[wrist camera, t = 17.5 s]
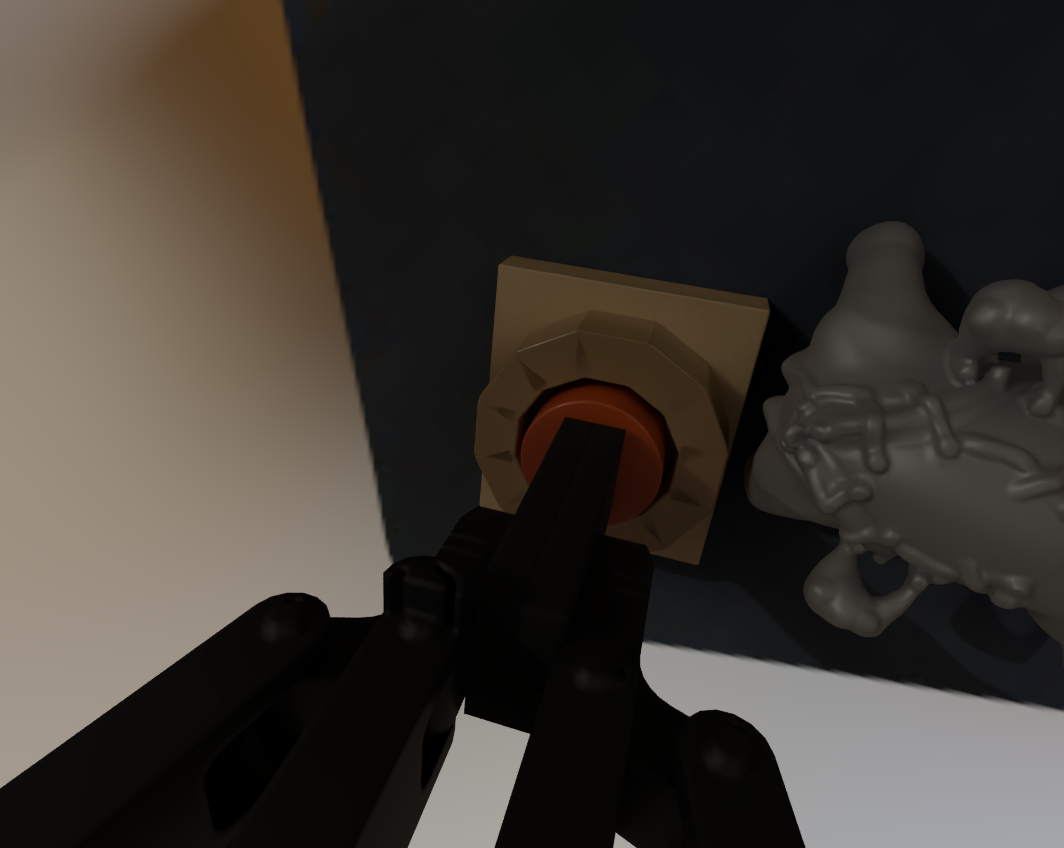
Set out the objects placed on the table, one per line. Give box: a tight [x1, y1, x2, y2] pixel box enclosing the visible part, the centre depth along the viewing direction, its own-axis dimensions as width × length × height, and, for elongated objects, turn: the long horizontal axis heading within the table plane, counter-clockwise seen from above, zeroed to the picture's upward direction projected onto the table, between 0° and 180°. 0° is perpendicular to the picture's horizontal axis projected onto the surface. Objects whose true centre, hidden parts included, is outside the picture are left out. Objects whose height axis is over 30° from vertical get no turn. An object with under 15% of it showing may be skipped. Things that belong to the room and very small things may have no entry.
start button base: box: [474, 256, 770, 565], centre depth 18 cm, size 8×7×3 cm
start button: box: [521, 377, 668, 526], centre depth 17 cm, size 4×4×2 cm
